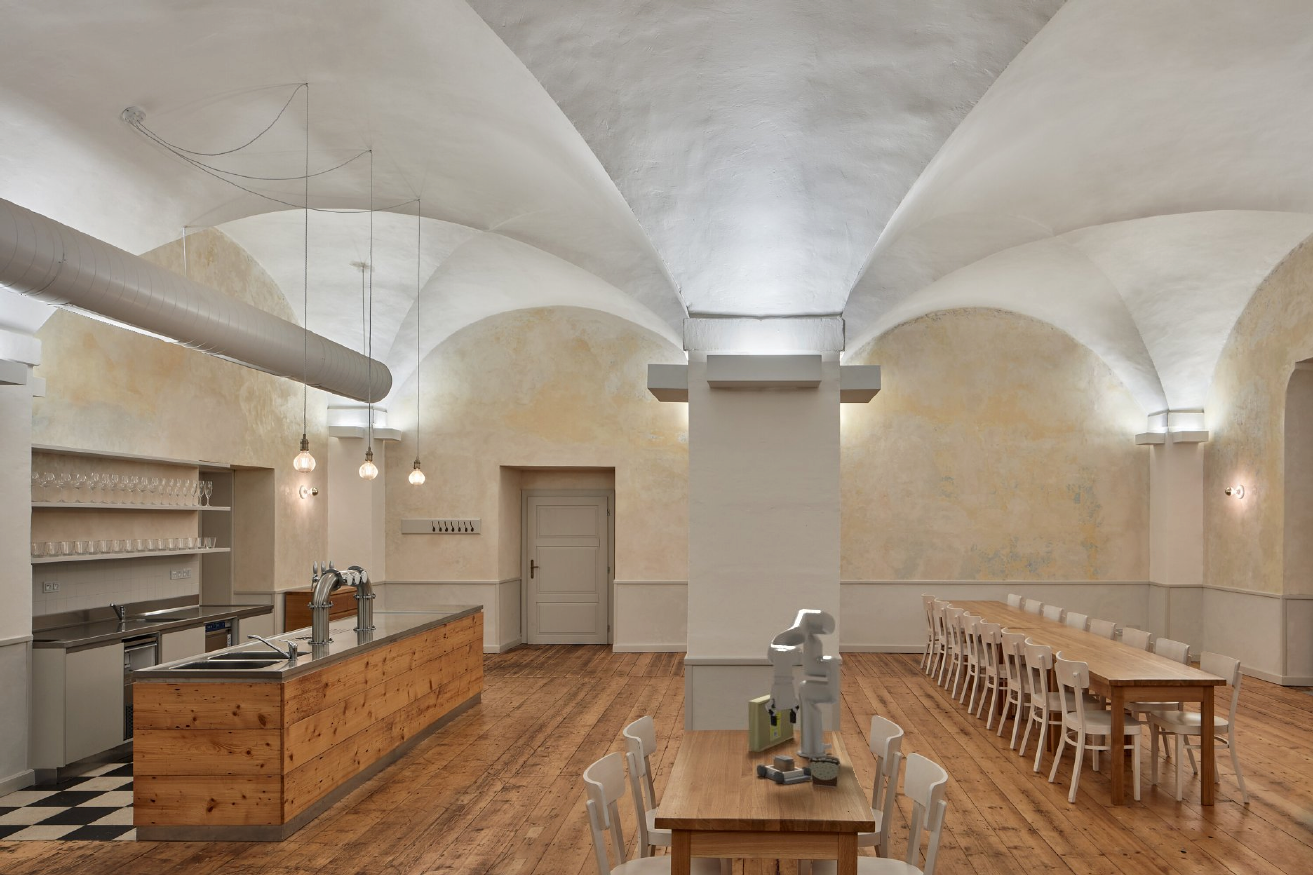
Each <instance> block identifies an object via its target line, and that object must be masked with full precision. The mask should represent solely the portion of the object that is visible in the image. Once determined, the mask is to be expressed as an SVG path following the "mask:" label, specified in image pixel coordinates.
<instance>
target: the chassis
mask: <svg viewBox="0 0 1313 875" xmlns="http://www.w3.org/2000/svg"><path fill="white" fill-rule="evenodd" d="M756 774H757V775H758V777H764V778H767V779H770V780H771V781H772V780H773V781H775V782H776V784H783V783H784V785H786V786H787V785H792V783H794V784H797V783H798V782H799V783H803V782H802V781H805V782H807V781H806V780H811V781H812V777H811V768H810V766H808V765H806V766H803V767H802V768H799V767H797V766H795V771H789V772H782V771H779V770H776V769H774V764H770V765H765V764H758V765H757V767H756Z"/></svg>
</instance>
